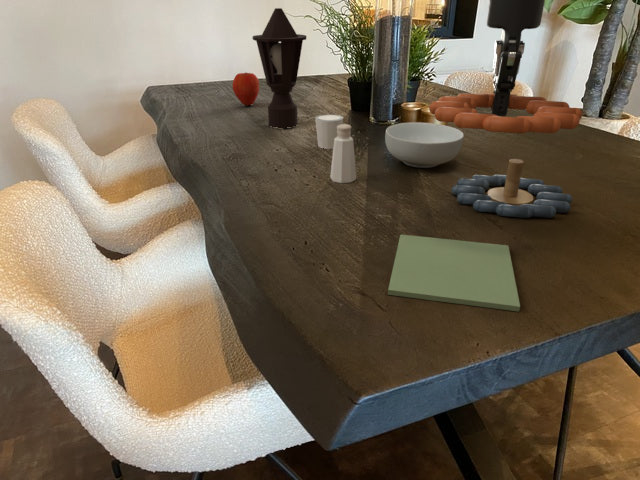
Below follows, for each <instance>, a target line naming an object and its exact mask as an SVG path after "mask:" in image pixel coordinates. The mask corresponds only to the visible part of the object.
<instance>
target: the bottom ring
mask: <svg viewBox="0 0 640 480" xmlns="http://www.w3.org/2000/svg"><path fill="white" fill-rule="evenodd" d="M506 176H507V174H494V175H483V174H474V175H472V177H471V178H459V179H458V180H457V181H456V184H455V185H453V186H452V188H451V191H450V192H451V194H452V195H453V196H456V201H457V202H458V204H460V205H469V206H472V208H473V210H474V211H476V212H480V213H489V214H497V215H498V216H499V217H508V218H519V219H530V218H531V217H533V218H535V217H536V218H546V219H552V218H554V217H556V214H557V213H558V214H559V213H561V214H566V213H568V212H570V210H571V203H572V202H573V196H572V195H571V194H570V193H563V188H562V187H561V186H559V185H554V184H553V185H551V184H545V182H544V180H543V179H537V178H525V177H524V178H523V177H521V179H520V184H519V189H521V190H527V192H528V193H530V194H531V195H532V196H536V197H535V199H536V200H534V201H533V203H532V205H531V204H522V205H520V206H516V205H508V204H507V203H505V202H496V201H492V199H491V197H490V196H489V195H487V194H486V191H487V190H489V188H490V187H493V188H497V187H502V186H503V187H505V182H506Z"/></svg>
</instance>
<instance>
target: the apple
mask: <svg viewBox="0 0 640 480" xmlns="http://www.w3.org/2000/svg"><path fill="white" fill-rule="evenodd" d="M232 91H233V94H234V95H235V97H236V98H237V99H238V101H239V102H240V103H241V104H242V105H243V104H244V105H251V104H253V105H254V103H255V102H256V100H257V98H258V95H259V92H260V81H259V78H258V77H257V75H256V74H254V73H252V72H246V71H245V72H239V73H236V75H235V76H234V78H233V81H232ZM244 105H243V106H244Z"/></svg>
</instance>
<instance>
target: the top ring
mask: <svg viewBox="0 0 640 480" xmlns="http://www.w3.org/2000/svg"><path fill="white" fill-rule="evenodd" d="M494 95H495V94H493V92H492V93H489V92H488V93H487V92H486V93H459V94H457V96H449V95H444V96H443V95H442V96H440V97H439V98H438V99H437V100H434V101H432V102H430V104H429V107H428V110H429V112H430V114H432V115H433V116H434V118H435V120H436V121H438V122H441V123H442V122H443V123H453V124H454V125H455V126H456V127H457V128H459V129H472V130H473V129H474V130H475V129H476V130H485V131H487V132H490V133H491V132H492V133H508V134H527V133H541V134H555V133H558V131H560V129H562V130H563V129H564V130H574V129H576V128H577V127H579V125H580V123H581V119H582V117H583V112H582V110H581V109H580V108H578V107H570V105H569V103H567V102H566V101H559V100H558V101H556V100H555V101H554V100H547V99H546V98H545V97H543V96H528V95H518V94H513V93H512V94H511V93H510V99H509V104H508V109H509V110H521V111H522V110H523V111H526V113H528V114H529V115H527V116H526V115H518V116H504V117H500V116H497V115H494V114H492V113H479V112H478V111H477V108H480V109H491V107H493V101H494Z"/></svg>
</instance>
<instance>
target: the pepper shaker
mask: <svg viewBox="0 0 640 480" xmlns="http://www.w3.org/2000/svg"><path fill="white" fill-rule="evenodd" d="M351 129H352V126H351V125H350V124H347V123H343V124H341V125H338V126H337V134H338V135H337V137H336V138H335V139H334V147H333V149H332V157H331V167H330V175H329V178H330V180H331V181H332V182H333V183H337V184H351V183H353V182H355V181H356V180H357V171H356V156H355V145H354V138H353V137H352V136H351V134H352V130H351Z"/></svg>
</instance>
